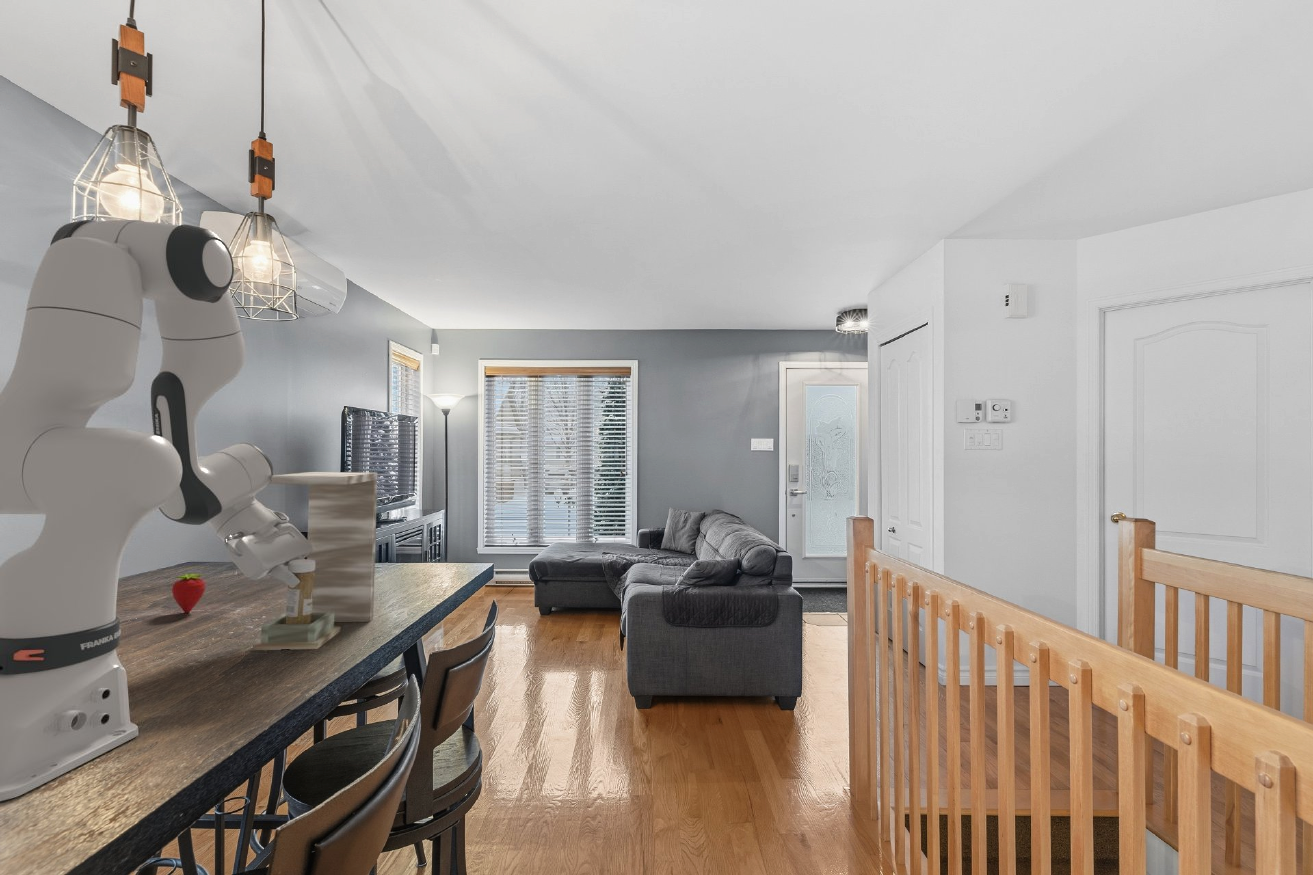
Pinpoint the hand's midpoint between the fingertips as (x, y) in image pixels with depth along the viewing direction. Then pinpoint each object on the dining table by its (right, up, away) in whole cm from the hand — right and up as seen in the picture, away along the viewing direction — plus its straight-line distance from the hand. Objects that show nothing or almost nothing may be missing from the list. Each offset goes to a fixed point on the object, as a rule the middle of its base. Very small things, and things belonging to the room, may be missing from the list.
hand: (304, 581), depth 119 cm
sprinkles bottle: (-1, -10, 0) cm, 10 cm away
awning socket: (0, -11, +4) cm, 12 cm away
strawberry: (-35, -11, +17) cm, 41 cm away
